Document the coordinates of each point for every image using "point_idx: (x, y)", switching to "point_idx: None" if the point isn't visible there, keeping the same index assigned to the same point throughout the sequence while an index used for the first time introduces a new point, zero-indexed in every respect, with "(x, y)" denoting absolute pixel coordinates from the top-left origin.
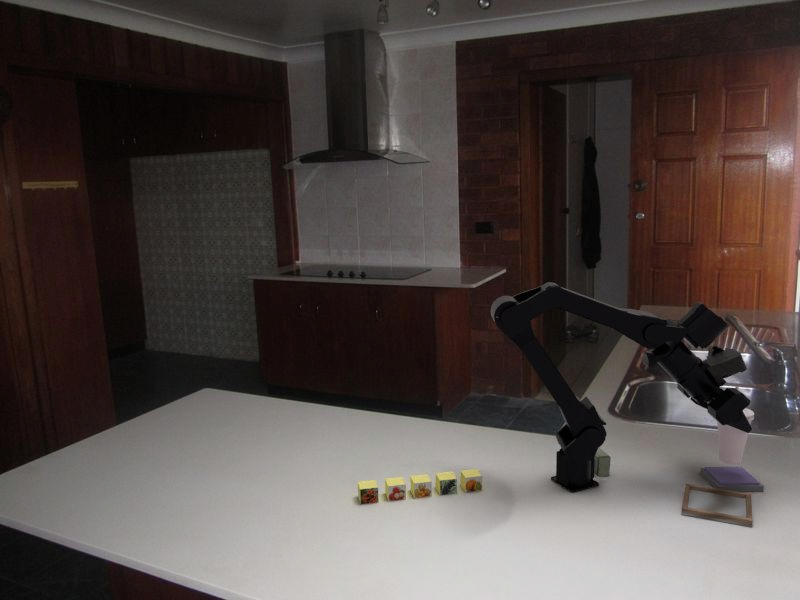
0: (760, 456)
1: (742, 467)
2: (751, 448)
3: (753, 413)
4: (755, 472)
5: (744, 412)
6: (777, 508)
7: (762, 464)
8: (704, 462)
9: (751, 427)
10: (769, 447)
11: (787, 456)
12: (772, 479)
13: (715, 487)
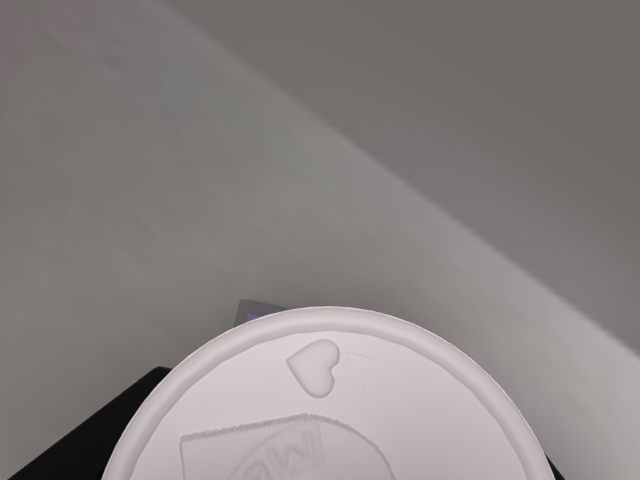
0: (108, 112)
1: (257, 315)
2: (20, 91)
3: (467, 363)
4: (251, 242)
5: (407, 450)
6: (588, 388)
7: (185, 159)
8: (87, 404)
9: (548, 460)
10: (37, 16)
11: (142, 12)
12: (331, 220)
13: None
